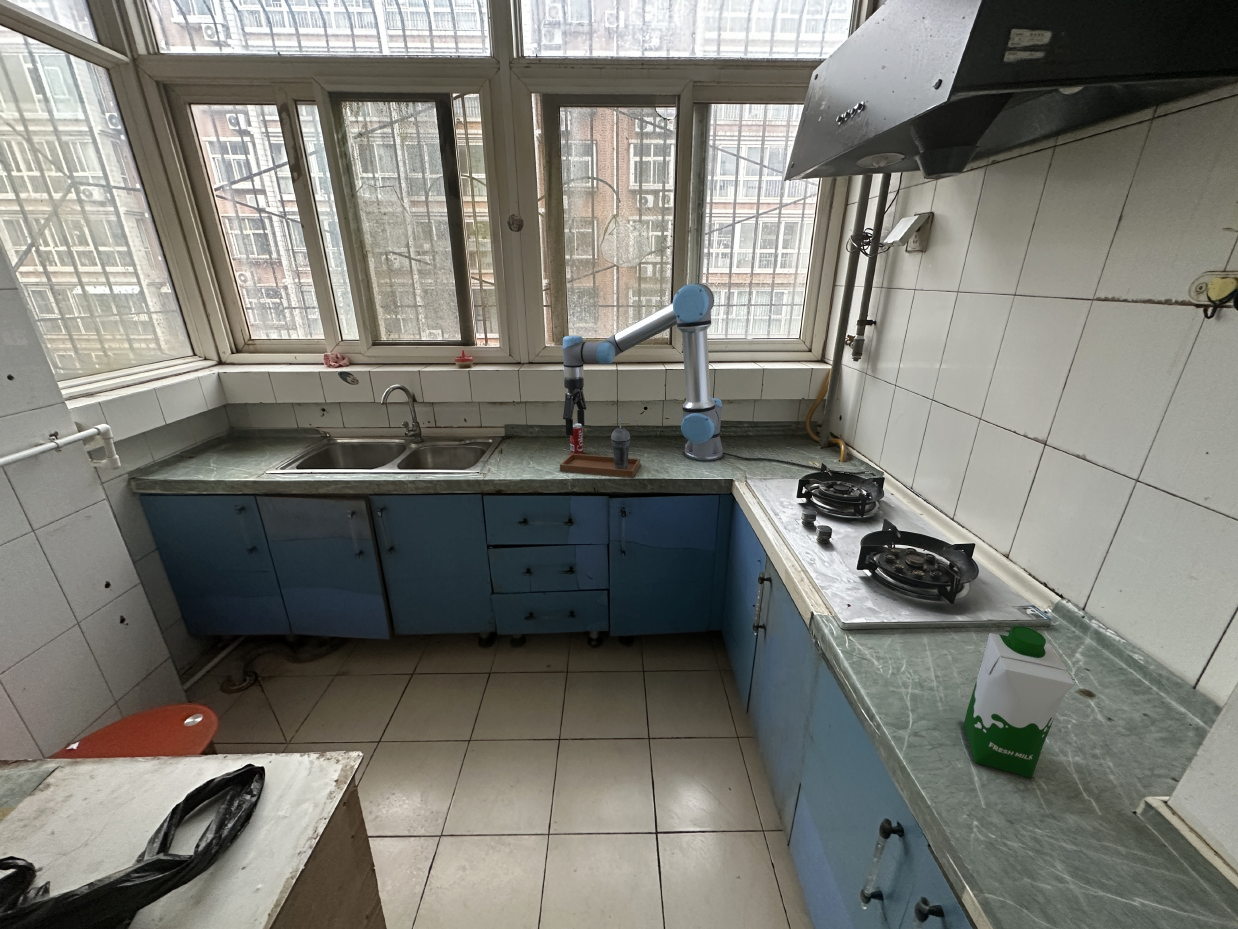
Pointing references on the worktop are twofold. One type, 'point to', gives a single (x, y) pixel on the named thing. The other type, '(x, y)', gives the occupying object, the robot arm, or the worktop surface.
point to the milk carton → (1015, 700)
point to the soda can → (577, 439)
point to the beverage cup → (620, 447)
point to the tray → (598, 465)
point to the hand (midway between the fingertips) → (575, 430)
